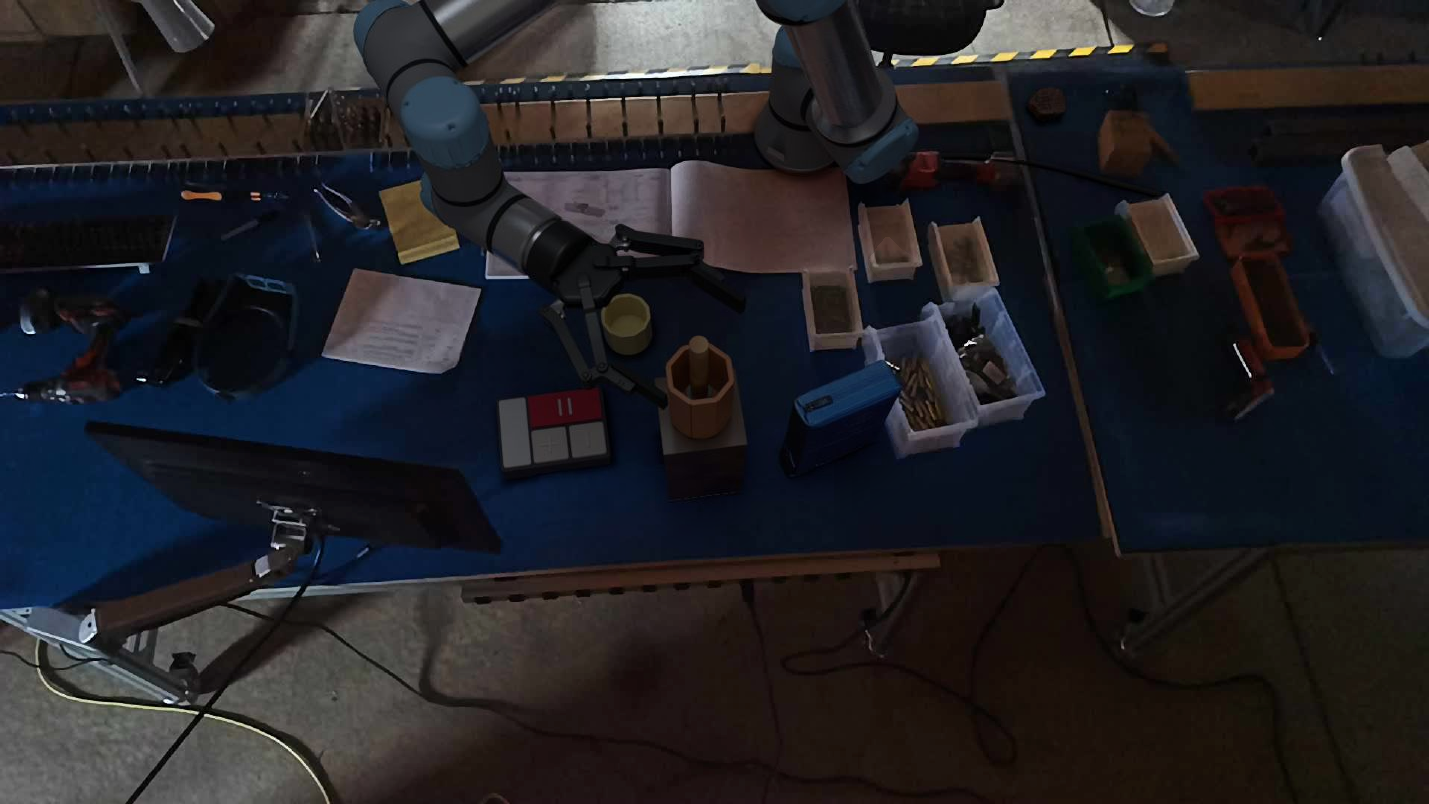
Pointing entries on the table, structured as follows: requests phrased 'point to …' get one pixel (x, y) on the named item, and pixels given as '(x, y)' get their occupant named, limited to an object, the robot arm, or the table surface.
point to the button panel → (552, 432)
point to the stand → (703, 455)
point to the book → (838, 418)
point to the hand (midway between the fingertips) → (705, 353)
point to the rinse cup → (627, 324)
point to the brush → (699, 369)
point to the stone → (1047, 104)
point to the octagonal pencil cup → (702, 413)
